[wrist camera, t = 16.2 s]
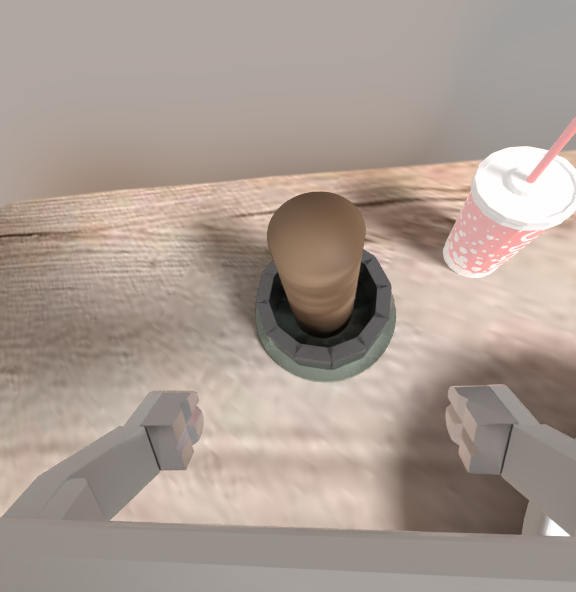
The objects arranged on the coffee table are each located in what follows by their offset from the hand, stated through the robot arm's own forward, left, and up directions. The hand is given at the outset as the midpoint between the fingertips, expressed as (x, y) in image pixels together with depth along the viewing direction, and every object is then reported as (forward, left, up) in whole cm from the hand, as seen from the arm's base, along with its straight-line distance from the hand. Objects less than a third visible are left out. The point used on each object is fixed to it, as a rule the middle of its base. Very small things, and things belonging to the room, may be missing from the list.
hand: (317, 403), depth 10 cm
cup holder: (+3, +8, -15) cm, 17 cm away
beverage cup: (+17, +8, -16) cm, 24 cm away
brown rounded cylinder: (+3, +8, -15) cm, 17 cm away
